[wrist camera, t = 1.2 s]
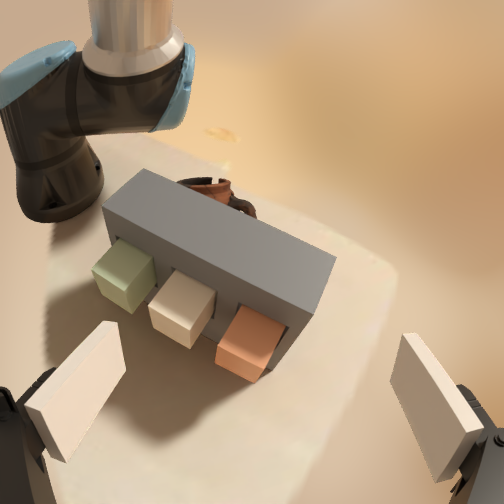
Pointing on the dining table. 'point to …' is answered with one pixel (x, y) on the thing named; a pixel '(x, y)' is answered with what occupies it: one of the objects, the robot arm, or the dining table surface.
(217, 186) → the pottery mug
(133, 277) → the sage button
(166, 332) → the ivory button
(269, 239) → the console
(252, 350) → the terracotta button
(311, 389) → the dining table surface
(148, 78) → the robot arm
